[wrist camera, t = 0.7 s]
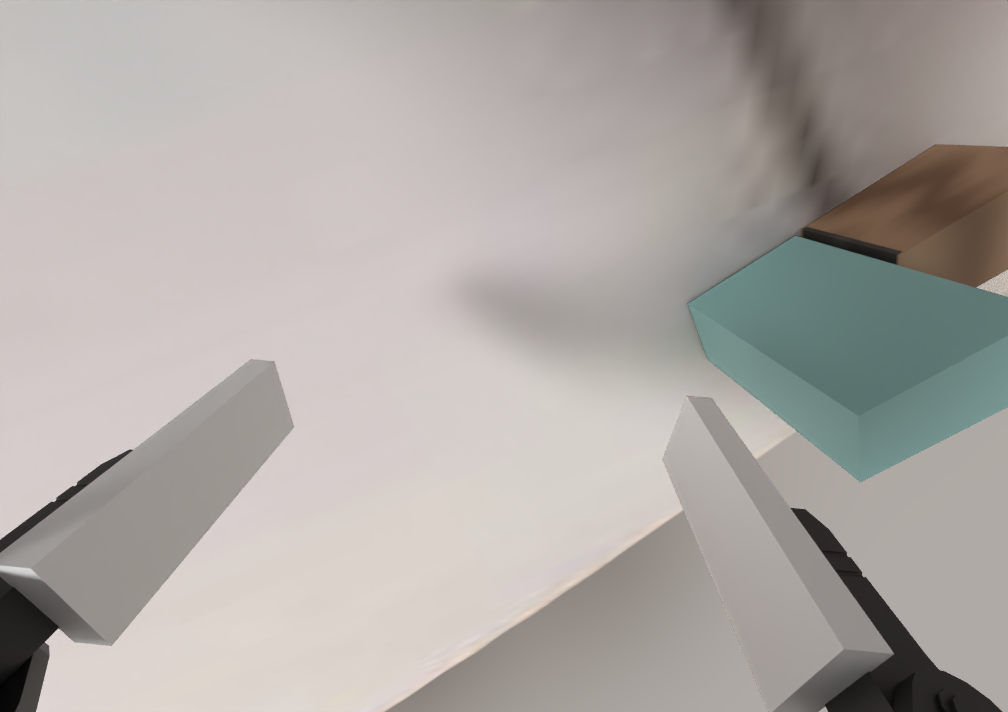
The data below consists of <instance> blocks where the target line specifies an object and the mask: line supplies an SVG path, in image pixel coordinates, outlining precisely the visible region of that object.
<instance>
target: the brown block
mask: <svg viewBox="0 0 1008 712" xmlns="http://www.w3.org/2000/svg"><path fill="white" fill-rule="evenodd" d="M801 232H802V238H805V239H809V240H812V241H816V242H819V243H822V244H826V245H829V246H833V247H836V248H840V249H843V250H847V251H850V252H854V253H857V254H861V255H864V256H867V257H871V258H874V259H878V260H881V261H885V262H888V263H892V264H895V265H899V266H902V267H906V268H909V269H913V270H916V271H919V272H923V273H926V274H930V275H933V276H937V277H940V278H944V279H947V280H951V281H954V282H958V283H961V284H964V285H968V286H971V287H975V288H976V287H977V286H979V285H981V284H983V283H985V282H986V281H988V280H990V279H992V278H993V277H995V276H997V275H999V274H1000V273H1002V272H1004V271H1006V270H1008V147H995V146H966V145H934V146H932V147H931V148H929V149H928V150H926V151H925V152H923V153H921V154H920V155H918V156H917V157H915V158H914V159H912V160H910V161H909V162H907V163H906V164H904V165H902V166H901V167H899V168H898V169H896V170H895V171H893V172H891V173H890V174H888V175H887V176H885V177H883V178H882V179H880V180H879V181H877V182H876V183H874V184H872V185H871V186H869V187H868V188H866V189H865V190H863V191H861V192H860V193H858V194H857V195H855V196H853V197H852V198H850V199H849V200H847V201H846V202H844V203H842V204H841V205H839V206H838V207H836V208H834V209H833V210H831V211H830V212H828V213H827V214H825V215H823V216H822V217H820V218H819V219H817V220H816V221H814V222H812V223H811V224H809V225H808V226H806V227H804V228H803V229H801Z"/></svg>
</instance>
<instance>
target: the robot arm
mask: <svg viewBox="0 0 1008 712" xmlns="http://www.w3.org/2000/svg"><path fill="white" fill-rule="evenodd" d="M293 428H294V425H293V422H292V418H291V415H290V412H289V408H288V405H287V402H286V398H285V395H284V392H283V388H282V385H281V382H280V378H279V375H278V372H277V368H276V365H275V362H274V361H265V360H253V359H251V360H249V361H248V362H247V363H246V364H244V365H243V366H242V367H240V368H239V369H238V370H237V371H235V372H234V373H233V374H231V375H230V376H229V377H227V378H226V379H225V380H224V381H222V382H221V383H220V384H218V385H217V386H216V387H214V388H213V389H212V390H211V391H209V392H208V393H207V394H205V395H204V396H203V397H202V398H200V399H199V400H198V401H196V402H195V403H194V404H192V405H191V406H190V407H189V408H187V409H186V410H185V411H183V412H182V413H181V414H180V415H178V416H177V417H176V418H174V419H173V420H172V421H170V422H169V423H168V424H167V425H165V426H164V427H163V428H161V429H160V430H159V431H157V432H156V433H155V434H154V435H152V436H151V437H150V438H148V439H147V440H146V441H145V442H143V443H142V444H141V445H139V446H138V447H137V448H135V449H134V450H128V451H126V452H124V453H122V454H120V455H118V456H117V457H115V458H113V459H111V460H109V461H107V462H105V463H103V464H101V465H100V466H98V467H97V468H96V469H94V470H93V471H92V472H90V473H89V474H88V475H86V476H85V477H84V478H82V479H81V480H80V481H78V482H77V485H76V486H72V487H70V488H69V489H68V490H66V491H65V492H64V493H62V494H61V495H60V496H58V497H57V500H56V501H55V502H50V503H49V504H48V505H46V506H45V507H44V508H42V509H41V510H40V511H38V512H37V513H36V514H34V515H33V516H32V517H30V518H29V519H27V520H26V521H25V522H23V523H22V524H21V525H19V526H18V527H17V528H15V529H14V530H13V531H11V532H10V533H9V534H7V535H6V536H5V537H3V538H2V539H1V540H0V712H36V709H37V705H38V701H39V697H40V693H41V689H42V684H43V680H44V676H45V672H46V668H47V664H48V660H49V646H48V645H47V644H46V643H45V641H46V640H47V639H48V638H49V637H50V636H51V635H52V634H53V633H54V632H55V631H56V630H57V629H58V628H59V629H60V630H61V631H63V632H64V633H65V634H66V635H67V636H68V637H69V638H70V639H72V640H73V641H74V642H77V643H87V644H96V645H106V646H112V645H113V644H114V642H115V641H116V640H117V639H118V638H119V636H120V635H121V634H122V633H123V632H124V630H125V629H126V628H127V627H128V626H129V624H130V623H131V622H132V621H133V620H134V618H135V617H136V616H137V615H138V614H139V612H140V611H141V610H142V609H143V608H144V606H145V605H146V604H147V603H148V602H149V600H150V599H151V598H152V597H153V596H154V594H155V593H156V592H157V591H158V590H159V588H160V587H161V586H162V585H163V584H164V582H165V581H166V580H167V579H168V578H169V576H170V575H171V574H172V573H173V572H174V570H175V569H176V568H177V567H178V566H179V564H180V563H181V562H182V561H183V560H184V558H185V557H186V556H187V555H188V554H189V552H190V551H191V550H192V549H193V548H194V546H195V545H196V544H197V543H198V542H199V540H200V539H201V538H202V537H203V536H204V534H205V533H206V532H207V531H208V530H209V528H210V527H211V526H212V525H213V524H214V522H215V521H216V520H217V519H218V518H219V516H220V515H221V514H222V513H223V512H224V510H225V509H226V508H227V507H228V506H229V504H230V503H231V502H232V501H233V500H234V498H235V497H236V496H237V495H238V494H239V492H240V491H241V490H242V489H243V488H244V486H245V485H246V484H247V483H248V482H249V480H250V479H251V478H252V477H253V476H254V474H255V473H256V472H257V471H258V470H259V469H260V467H261V466H262V465H263V464H264V463H265V461H266V460H267V459H268V458H269V457H270V455H271V454H272V453H273V452H274V451H275V449H276V448H277V447H278V446H279V445H280V443H281V442H282V441H283V440H284V439H285V437H286V436H287V435H288V434H289V433H290V431H291V430H292V429H293ZM662 460H663V462H664V464H665V467H666V469H667V472H668V474H669V476H670V479H671V481H672V484H673V486H674V488H675V491H676V493H677V495H678V498H679V500H680V503H681V505H682V507H683V510H684V512H685V515H686V517H687V519H688V522H689V524H690V526H691V529H692V531H693V534H694V536H695V538H696V540H697V543H698V546H699V548H700V550H701V553H702V555H703V558H704V560H705V562H706V565H707V567H708V569H709V572H710V574H711V577H712V579H713V581H714V584H715V586H716V589H717V591H718V593H719V596H720V598H721V600H722V603H723V605H724V608H725V610H726V612H727V615H728V617H729V620H730V622H731V624H732V627H733V629H734V632H735V634H736V636H737V639H738V641H739V643H740V646H741V648H742V650H743V653H744V655H745V658H746V660H747V662H748V665H749V667H750V670H751V672H752V674H753V677H754V679H755V682H756V684H757V686H758V689H759V691H760V694H761V696H762V698H763V701H764V703H765V705H766V708H767V710H768V712H818V711H820V710H821V709H822V708H824V707H825V706H826V708H827V710H828V712H1002V711H1001V710H1000V709H999V708H998V707H997V706H996V705H995V704H994V703H993V702H992V701H991V700H990V699H988V698H987V697H985V696H984V695H983V694H981V693H980V692H979V691H977V690H976V689H975V688H973V687H972V686H970V685H969V684H968V683H966V682H964V681H962V680H961V679H958V678H957V677H955V676H952V675H951V674H948V673H947V672H944V671H940V670H939V669H938V668H937V667H936V666H935V665H934V663H933V662H932V661H931V660H930V659H929V658H928V657H927V655H926V654H925V653H924V652H923V650H922V649H921V648H920V646H919V645H918V644H917V642H916V641H915V640H914V639H913V637H912V636H911V635H910V634H909V632H908V631H907V630H906V628H905V627H904V626H903V624H902V623H901V622H900V621H899V619H898V618H897V617H896V615H895V614H894V613H893V612H892V610H891V609H890V608H889V606H888V605H887V604H886V602H885V601H884V600H883V599H882V597H881V596H880V595H879V593H878V592H877V591H876V590H875V588H874V587H873V586H872V584H871V583H870V582H869V581H868V579H867V578H866V577H863V576H862V572H861V570H860V569H859V568H858V566H857V565H856V564H855V562H854V561H853V560H852V559H851V558H850V557H848V556H847V552H846V551H845V550H844V548H843V547H842V546H841V544H840V543H839V542H838V541H837V539H836V538H835V537H834V535H833V534H832V533H831V532H830V530H829V529H828V528H827V527H825V526H824V525H823V524H822V523H821V522H820V521H818V520H817V519H816V518H815V517H814V516H812V515H811V514H810V513H809V512H807V511H806V510H805V509H796V508H790V507H789V506H788V504H787V503H786V502H785V500H784V499H783V497H782V496H781V495H780V493H779V492H778V490H777V489H776V487H775V486H774V485H773V483H772V482H771V481H770V479H769V478H768V476H767V475H766V473H765V472H764V471H763V469H762V468H761V467H760V465H759V464H758V462H757V461H756V459H755V458H754V457H753V455H752V454H751V452H750V451H749V450H748V448H747V447H746V445H745V444H744V443H743V441H742V440H741V438H740V437H739V436H738V434H737V433H736V431H735V430H734V429H733V427H732V426H731V424H730V423H729V422H728V420H727V419H726V417H725V416H724V415H723V413H722V412H721V410H720V409H719V408H718V406H717V405H716V403H715V402H714V401H713V399H712V398H708V397H696V396H686V399H685V402H684V404H683V407H682V409H681V412H680V415H679V417H678V420H677V422H676V425H675V428H674V430H673V433H672V435H671V438H670V441H669V443H668V446H667V448H666V451H665V454H664V456H663V459H662Z"/></svg>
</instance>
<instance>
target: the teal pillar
mask: <svg viewBox="0 0 1008 712" xmlns="http://www.w3.org/2000/svg"><path fill="white" fill-rule="evenodd" d="M688 306H689V309H690V312H691V314H692V317H693V320H694V323H695V326H696V328H697V331H698V334H699V337H700V339H701V342H702V345H703V348H704V350H705V353H706V356H707V359H708V360H709V361H710V362H712V363H713V364H714V365H715V366H717V367H718V368H719V369H720V370H722V371H723V372H724V373H725V374H727V375H728V376H729V377H730V378H731V379H733V380H734V381H735V382H736V383H738V384H739V385H740V386H741V387H743V388H744V389H745V390H746V391H748V392H749V393H750V394H751V395H753V396H754V397H755V398H756V399H758V400H759V401H760V402H761V403H763V404H764V405H765V406H766V407H768V408H769V409H770V410H771V411H772V412H774V413H775V414H776V415H777V416H779V417H780V418H781V419H782V420H784V421H785V422H786V423H787V424H789V425H790V426H791V427H792V428H794V429H795V430H796V431H797V432H799V433H800V434H801V435H802V436H804V437H805V438H806V439H808V440H809V441H810V442H811V443H812V444H814V445H815V446H816V447H817V448H819V449H820V450H821V451H822V452H824V453H825V454H826V455H827V456H828V457H830V458H831V459H832V460H833V461H835V462H836V463H837V464H838V465H840V466H841V467H842V468H843V469H845V470H846V471H847V472H848V473H850V474H851V475H852V476H853V477H855V478H856V479H857V480H858V481H859V482H862V481H864V480H866V479H868V478H870V477H872V476H874V475H875V474H878V473H879V472H881V471H883V470H885V469H887V468H889V467H891V466H893V465H895V464H897V463H899V462H901V461H903V460H905V459H907V458H909V457H911V456H913V455H915V454H917V453H919V452H921V451H923V450H925V449H927V448H929V447H931V446H932V445H934V444H936V443H938V442H940V441H942V440H944V439H946V438H948V437H950V436H952V435H954V434H956V433H958V432H960V431H962V430H964V429H966V428H968V427H970V426H972V425H974V424H976V423H978V422H980V421H982V420H983V419H985V418H987V417H989V416H991V415H993V414H995V413H997V412H999V411H1001V410H1003V409H1005V408H1007V407H1008V297H1006V296H1003V295H999V294H996V293H992V292H989V291H985V290H982V289H978V288H975V287H971V286H968V285H964V284H961V283H958V282H954V281H951V280H947V279H944V278H940V277H937V276H933V275H930V274H926V273H923V272H919V271H916V270H913V269H909V268H906V267H902V266H899V265H895V264H892V263H888V262H885V261H881V260H878V259H874V258H871V257H867V256H864V255H861V254H857V253H854V252H850V251H847V250H843V249H840V248H836V247H833V246H829V245H826V244H822V243H819V242H816V241H812V240H809V239H805V238H802V237H798V236H794V237H792V238H791V239H789V240H788V241H786V242H784V243H783V244H781V245H780V246H778V247H777V248H775V249H773V250H772V251H770V252H769V253H767V254H765V255H764V256H762V257H761V258H759V259H758V260H756V261H754V262H753V263H751V264H750V265H748V266H746V267H745V268H743V269H742V270H740V271H739V272H737V273H735V274H734V275H732V276H731V277H729V278H727V279H726V280H724V281H723V282H721V283H720V284H718V285H716V286H715V287H713V288H712V289H710V290H708V291H707V292H705V293H704V294H702V295H701V296H699V297H697V298H696V299H694V300H693V301H691V302H689V303H688Z"/></svg>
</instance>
